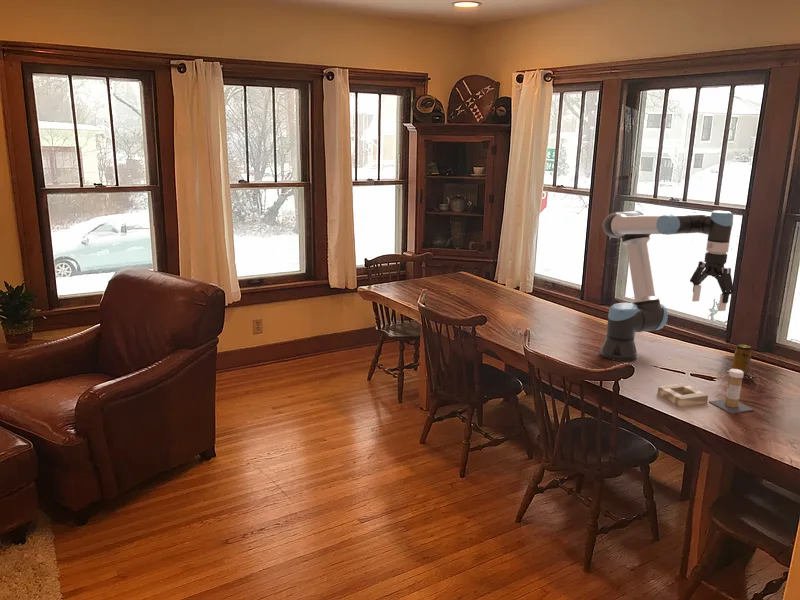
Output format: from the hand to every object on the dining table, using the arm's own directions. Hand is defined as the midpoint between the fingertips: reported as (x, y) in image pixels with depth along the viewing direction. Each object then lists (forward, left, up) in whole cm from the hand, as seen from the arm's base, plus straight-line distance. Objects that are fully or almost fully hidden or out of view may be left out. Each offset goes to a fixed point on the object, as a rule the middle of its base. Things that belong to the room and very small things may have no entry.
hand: (708, 305), depth 241 cm
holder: (+14, -20, -31) cm, 39 cm away
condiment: (+1, +21, -31) cm, 37 cm away
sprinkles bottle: (+25, -8, -30) cm, 40 cm away
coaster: (+25, -8, -31) cm, 40 cm away
